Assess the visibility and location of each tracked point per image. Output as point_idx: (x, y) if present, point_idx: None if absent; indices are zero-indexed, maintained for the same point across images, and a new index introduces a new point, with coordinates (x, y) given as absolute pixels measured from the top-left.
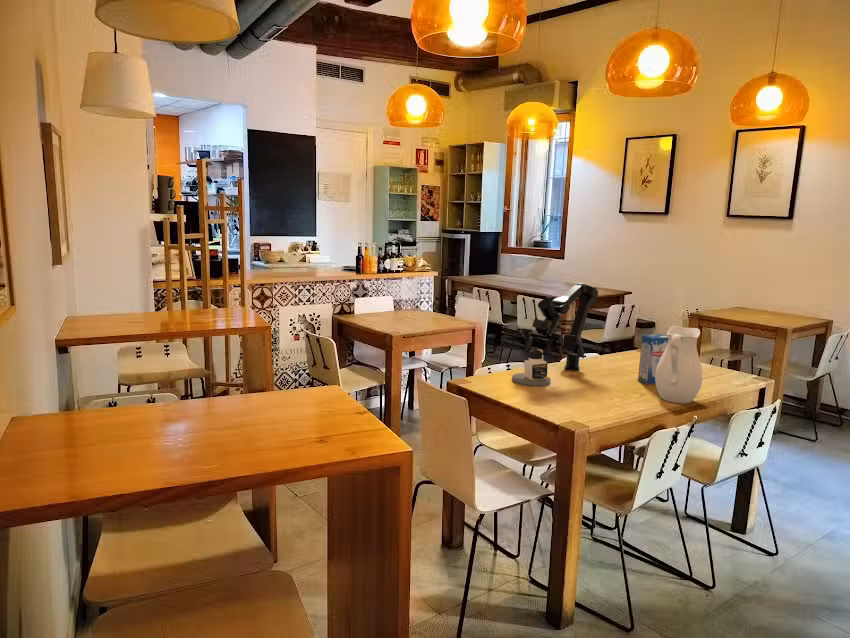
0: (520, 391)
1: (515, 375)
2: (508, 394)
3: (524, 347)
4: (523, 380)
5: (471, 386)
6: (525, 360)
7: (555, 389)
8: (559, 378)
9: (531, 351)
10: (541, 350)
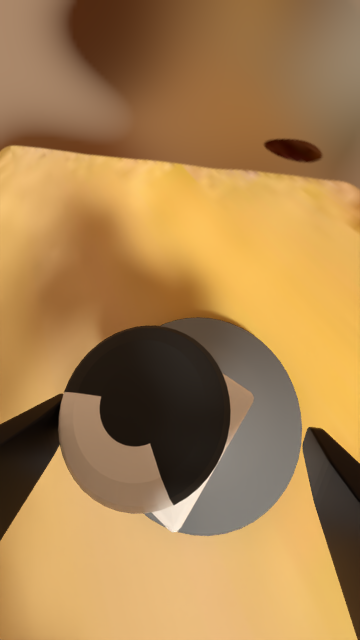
0: (162, 255)
1: (280, 392)
2: (176, 210)
3: (349, 457)
4: (200, 336)
5: (313, 197)
6: (244, 391)
7: (66, 361)
8: (97, 611)
9: (169, 335)
10: (72, 426)
